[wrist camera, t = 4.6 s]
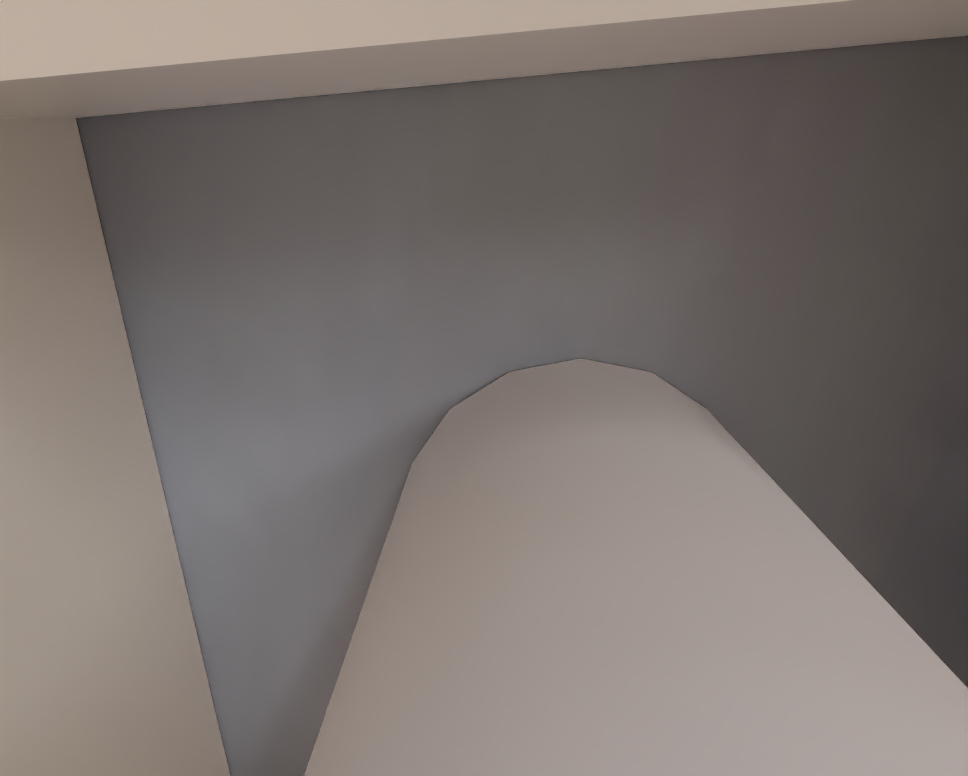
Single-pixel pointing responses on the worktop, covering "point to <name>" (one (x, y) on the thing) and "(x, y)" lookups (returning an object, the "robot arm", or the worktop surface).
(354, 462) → the worktop surface
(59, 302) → the open beige storage bin
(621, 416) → the white cup
